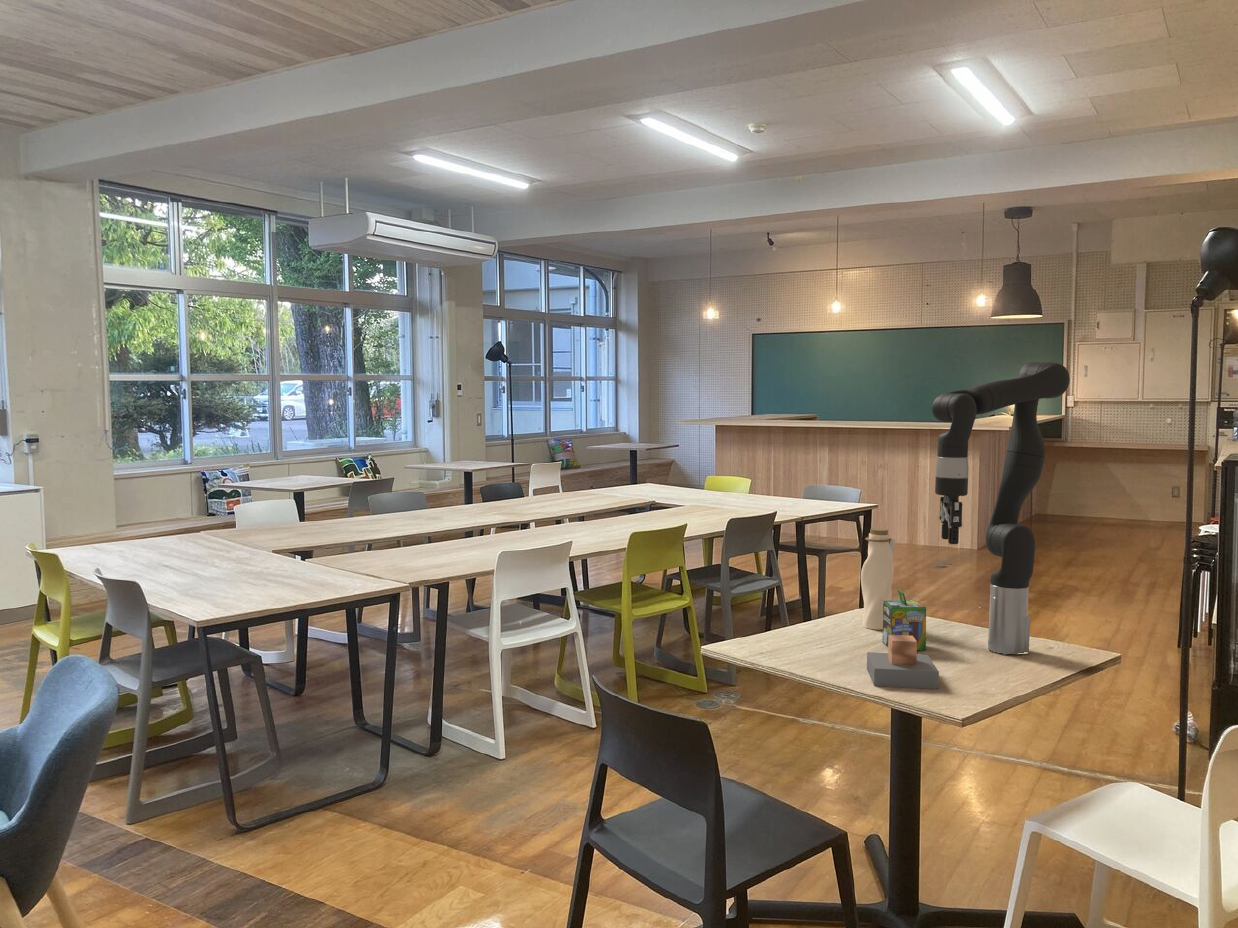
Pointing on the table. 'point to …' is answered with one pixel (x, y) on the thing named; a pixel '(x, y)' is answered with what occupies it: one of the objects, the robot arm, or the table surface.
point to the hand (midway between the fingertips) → (949, 541)
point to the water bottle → (877, 577)
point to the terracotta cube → (902, 650)
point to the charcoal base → (902, 672)
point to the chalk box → (905, 620)
